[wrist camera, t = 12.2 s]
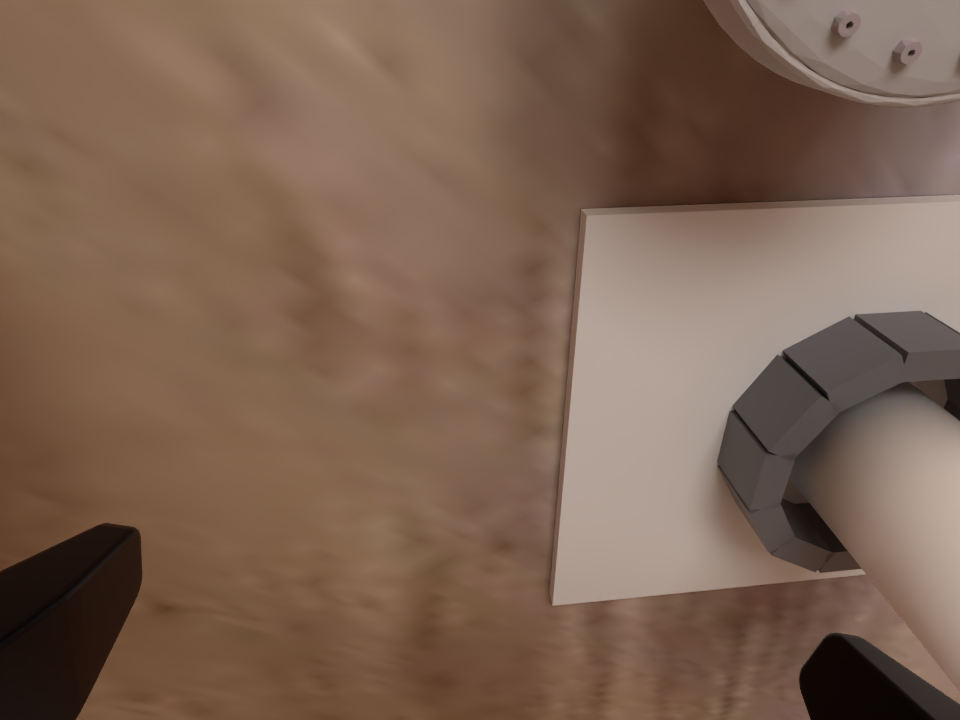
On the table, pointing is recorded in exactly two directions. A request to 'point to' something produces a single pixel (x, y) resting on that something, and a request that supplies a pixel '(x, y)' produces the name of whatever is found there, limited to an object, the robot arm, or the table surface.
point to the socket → (736, 380)
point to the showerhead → (854, 46)
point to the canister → (896, 507)
